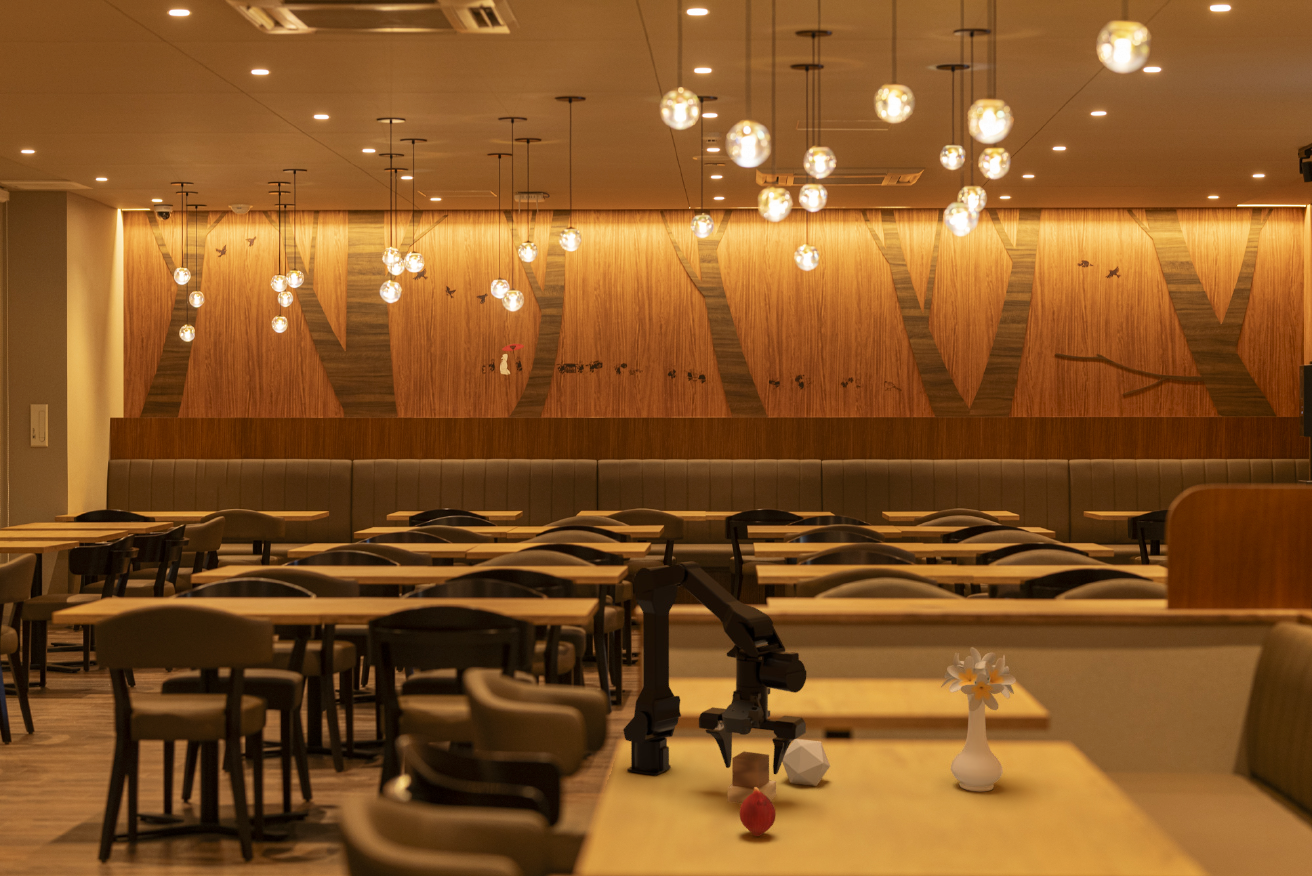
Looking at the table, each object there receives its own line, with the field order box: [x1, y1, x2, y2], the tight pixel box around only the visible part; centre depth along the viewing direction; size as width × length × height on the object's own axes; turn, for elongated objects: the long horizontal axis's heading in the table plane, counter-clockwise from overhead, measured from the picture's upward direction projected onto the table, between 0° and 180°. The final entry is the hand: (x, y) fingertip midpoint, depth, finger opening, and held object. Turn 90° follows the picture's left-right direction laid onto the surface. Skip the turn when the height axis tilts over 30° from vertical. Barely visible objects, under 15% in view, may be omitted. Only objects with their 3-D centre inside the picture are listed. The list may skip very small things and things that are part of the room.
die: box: [781, 738, 831, 787], centre depth 242 cm, size 8×9×10 cm
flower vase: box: [940, 646, 1017, 793], centre depth 238 cm, size 13×18×25 cm
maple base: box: [727, 779, 777, 805], centre depth 232 cm, size 7×7×3 cm
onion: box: [739, 787, 777, 838], centre depth 211 cm, size 6×6×8 cm
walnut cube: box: [731, 750, 770, 789], centre depth 232 cm, size 5×5×5 cm
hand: (751, 770), depth 232 cm, fingers open, 9 cm apart
